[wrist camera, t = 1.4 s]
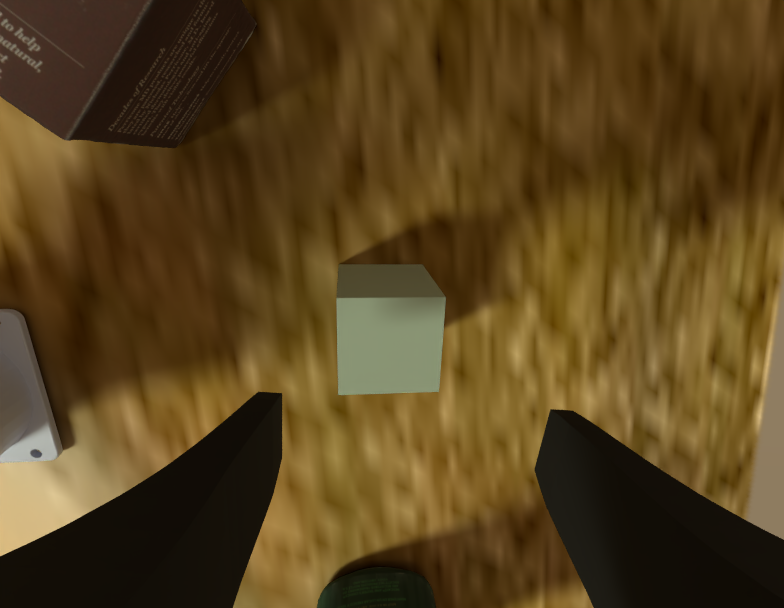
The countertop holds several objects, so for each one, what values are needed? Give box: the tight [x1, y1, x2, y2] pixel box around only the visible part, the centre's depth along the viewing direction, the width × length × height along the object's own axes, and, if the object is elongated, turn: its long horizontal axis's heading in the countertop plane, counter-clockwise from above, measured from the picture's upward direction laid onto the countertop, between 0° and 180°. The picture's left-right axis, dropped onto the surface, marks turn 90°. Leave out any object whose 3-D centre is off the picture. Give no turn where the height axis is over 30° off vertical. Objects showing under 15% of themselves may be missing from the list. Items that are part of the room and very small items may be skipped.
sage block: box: [337, 264, 446, 395], centre depth 18 cm, size 4×4×5 cm
